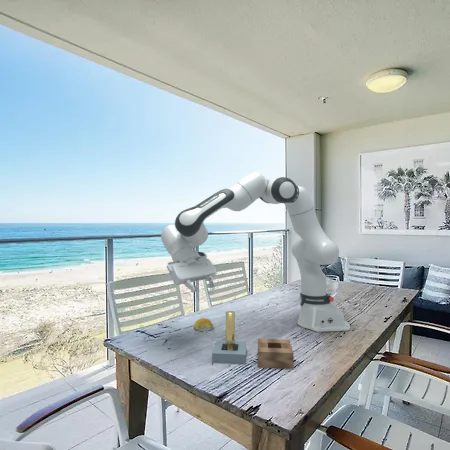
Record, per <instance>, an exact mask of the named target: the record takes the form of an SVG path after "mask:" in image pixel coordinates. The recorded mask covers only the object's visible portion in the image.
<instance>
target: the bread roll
mask: <svg viewBox="0 0 450 450" xmlns="http://www.w3.org/2000/svg"><path fill="white" fill-rule="evenodd" d="M193 328H194V330H196V331H198V332H209V331H211V330H213V328H214V324H213V323H212V321H211V320H210V319H209V318H204V317H203V318H199V319H197V320H196V321H195V322H194V324H193Z"/></svg>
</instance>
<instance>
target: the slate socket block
mask: <svg viewBox="0 0 450 450" xmlns="http://www.w3.org/2000/svg"><path fill="white" fill-rule="evenodd" d="M246 360H247V341H243V340H242V341H241V340H235V351H229V350H226V340H215V343H214V345H213V349H212V352H211V366H213V365H214V364H215V363H216V364H217V363H219V364H235V365H237V364H240V365H246V362H247V361H246Z"/></svg>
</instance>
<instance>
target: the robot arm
mask: <svg viewBox="0 0 450 450" xmlns="http://www.w3.org/2000/svg"><path fill="white" fill-rule="evenodd" d="M258 199H260V200H261V201H262V202H264V203H266V204H272V205H278V204H284V205H285V207H286V209H287V212H288V215H289V219H290V223H291V226H292V228H293V231H294V232H295V234H297V235H298V236H299V237H300V238H299V239H295V241H294V242H292V244H291V253H292V256H293V257H294V259H295V260H296V263H297V265H298V269H299V273H300V290H301V292H300V293H299V294H300V295H299V304H300V307H299V316H298V318H297V319H298V320H297V325H298V326H300V327H301V328H304V329H308V330H311V331H313V332H318V333H319V332H321V333H322V332H339V331H340V332H342V331H343V332H345V331H350V330H351V325H350V324H349V322H348V321H346V320H345V316H344V313H343V311H341V309H339V308H338V307H337V306H336V305H335V304H333V302H334V301H335V299H334V297H333V296H331V295H330V294H328V293H327V286H328V285H327V279H328V278H327V276H326V275H325V273H324V271H323V270H322V268H321V265H322V266H325V265H326V266H328V265H333V264H334V263H336V262H337V261H338V259H339V256H340V250H339V246H338V245H337V244H336V243H335V242H333V241H332V240H331V239H330V237H328V235H327V234H326V232H325V231H324V230H323V228H322V226H321V225H320V221H319V220H318V216H317V214H316V211H315V208H314V205H313V202H312V199H311V196H310V195H309V193H308V191H307V189H306V188H305V187H304V186H300V185H297V184H296V183H295V181H294V180H292V179H291V178H289V177H286V176H281V177H273V178H270V179H266V177H265V176H264V175H263V174H262V173H260V172H259V171H252V172H250V173H249V174H246V175H245V176H243V177H241V178H239V180H237V181H236V182H234V183H233V184H232V185H230V186H228V187H227V188H223V189H220V190H218V191H216V192H215V193H213V194H212V195H210V196H209V197H207V198H205V199H204V200H203V201H201V202H199V203H198V204H196V205H195V206H192V207H188V208H186V209H184V210H182V211H180V212H179V213H178V214H177V216H176V218H175V221H174V224H171V223H170V224H168V225H167V226H165V227H164V228H163V229H162V230H161V233H160V239H161V242H162V244H163V246H164V248H165V250H166V251H167V253H168V254H169V255H170V256H171V260H172V261H169V262H167V264H166V269H167V270H168V273H169V275H170V278H171V280H172V282H173V284H174V285H176V286H180V285H184V286H185V287H186V288H188V289H189V290H190V292H191V293H196V292H197V291H198V288H197V286H196V285H194V284H193V283H194V282H199V281H203V280H204V281H205V280H206V281H208V287H209V288H210V289H213V288H215V286H216V284H215V282H214V277H215V276H216V275H217V271H218V270H217V268H216V266H215V265H214V264H213V262H212V261H211V260H210V258H208V254H206V253H205V252H203V251H198V250H195V248H198V247H200V246H202V245H203V244H204V243H205V242H206V241H207V240H208V237H209V232H208V229H207V227H206V225H205V224H204V223H205V220H206V219H208V218H209V217H211V216H212V215H214V214H215V213H216V212H218V211H220V210H222V209H224V208H225V209H226V208H227V209H229V210H230V211H234V212H242V211H244V210H246V209H247V208H249V206H250V205H252V204H253V203H255V201H257V200H258Z"/></svg>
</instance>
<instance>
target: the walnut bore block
mask: <svg viewBox="0 0 450 450" xmlns="http://www.w3.org/2000/svg"><path fill="white" fill-rule="evenodd" d="M257 368H264V369H285V370H294V351H293V346H292V344H291V340H290V339H283V338H282V339H281V338H279V339H278V338H259V337H258V338H257Z"/></svg>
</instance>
